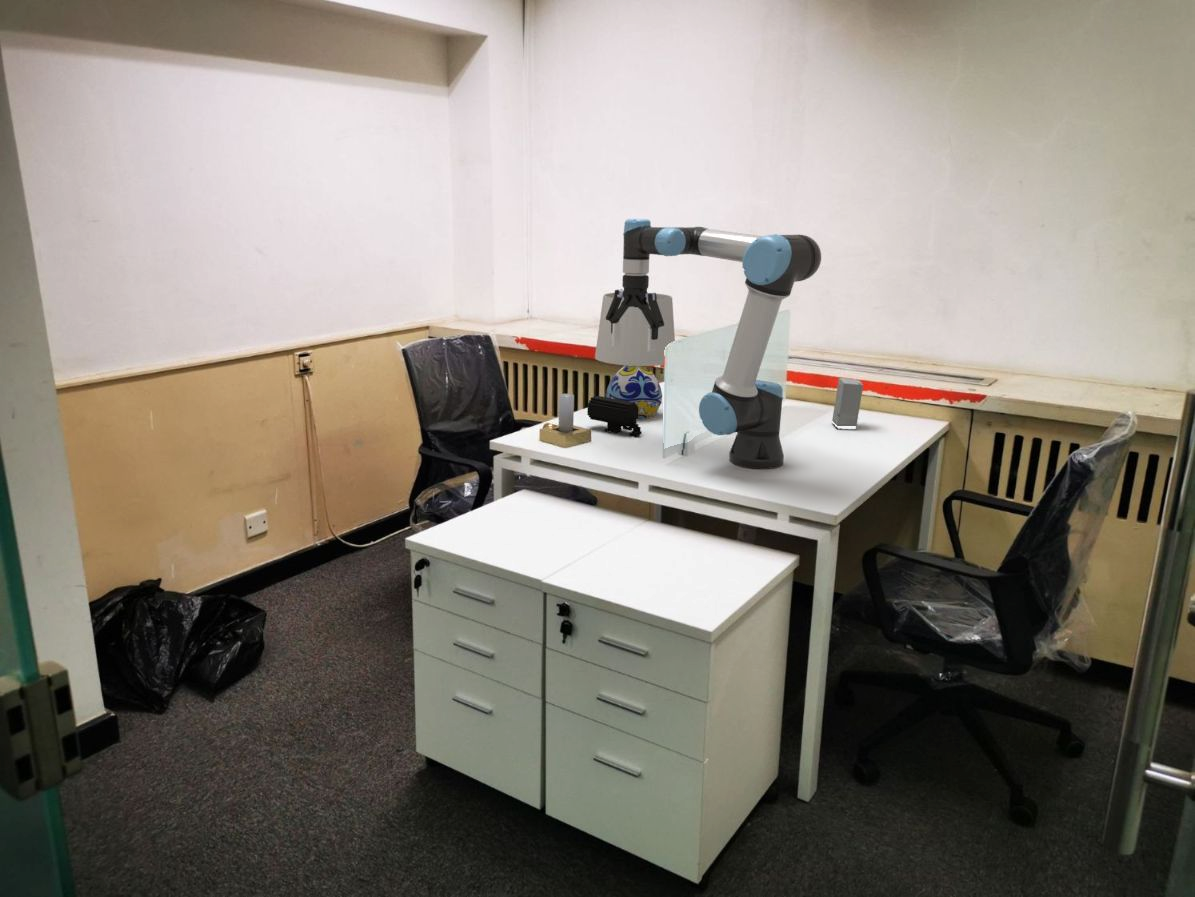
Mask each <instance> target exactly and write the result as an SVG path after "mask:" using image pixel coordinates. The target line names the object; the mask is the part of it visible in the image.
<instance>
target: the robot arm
mask: <svg viewBox="0 0 1195 897" xmlns="http://www.w3.org/2000/svg"><path fill="white" fill-rule="evenodd" d="M623 226H624V228H623V234H622V236H623V252H622V253H623V254H622V255H623V256H622V258H623V259H622V273H624V274H623V275H622V283H621V284H622V288H623V289H622V288H621V289H614V292H613V293H614V298H613V301H612V303H611V306H610V308H609V311H608V313H607V315H606V320H609V321H610V322H611V334H612V345H613V346H615V345H620V325H621V323H617V322H620V321H619V320H620V318H621V317H622V316H623V314H624V313H625V312H626V310H627V309H628V307H636V308H639V309H640V310H641V311H642V313H643V314H644V316H645V318H646V320H647V321H648V323H649V325H650V328H648V351H655V350H656V339H658V328H659V327H662V326H664V321H663V318H662V315H661V312H660V309H659V306H658V303H657V298H656V292H648V289H649V283H650V282H649V280H650V276H649V275H648V274H649V273H650V255H657V256H664V257H677V256H679V255H681V256H682V255H695V256H700V257H708V258H716V259H721V260H727V261H732V262H739V263H742V268H743V274H744V276H745V277H746V278H745V281H744V285H745V286H746V287H747V289H748V292H747V295H746V298H745V302H744V306H743V307H742V312H741V315H740V319H739V321H738V325H737V328H736V332H735V334H734V339H733V340H732V344H731V345H732V346H731V348H730V351H729V354H728V357H727V361H726V364H725V368H724V371H723V374H722V375H720V376H718V377H717V378H716V379H715V381H714V383H713V386H712V391H711V392H708V393H706V394H705V395H703V396H702V398H701V400H700V401H699V406H698V413H699V418H700V420H701V423H702V425H704V426H703V427H705V429H707V431H708V432H710V433H711V434H713V435H717V436H723V435H724V436H725V435H727V436H729V435H732V434H735V433H736V435H735V438H734V441H733V443H732V445H731V448H730V450H729V454H728V455H729V460H728V461H729V462H731V463H732V464H734V465H737V466H740V467H744V468H749V469H759V470H760V469H761V470H762V469H763V470H764V469H765V470H766V469H774V468H779V467H781V466H783V465H784V460H785V456H784V452H783V447H782V446H783V445H782V443H781V439H780V430H781V429H780V428H781V421H782V420H781V418H782V409H783V408H782V405H783V400H784V397H783V390H784V389H783V387H782V385H781V384H779V383H776V382H773V381H769V380H768V381H767V380H762V379H757V377H758V375H759V372H760V369H761V367H762V366H761V365H762V362H763V359H764V356H765V353H766V349H767V347H768V344H769V341H770V337H771V335H772V332H773V330H774V326H775V322H776V319H777V317H778V313H779V310H780V307H781V304H782V301H783V300H785V299H786V298H788V297H790V296H791V294H792V290H793V287H794V284H795V283H796V282H797V283H798V282H802V281H807V279H810V278H811V277H813V276H814V275H815V273H817V271H818V270H819V268H820V265H821V263H822V252H821V247H820V246H819V245H818V243H817V241H816V240H815V239H814V238H811V237H810V236H809V235H808V236H807V235H805V234H777V233H776V234H773V233H771V234H768V235H754V234H747V233H741V232H733V231H728V230H727V231H726V230H719V229H710V228H708V227H705V226H704V227H703V226H695V227H694V226H693V227H692V226H691V227H689V226H688V227H681V226H680V227H679V226H678V227H677V226H676V227H673V226H672V227H671V226H669V227H668V226H667V227H666V226H665V227H663V226H662V227H661V226H659V227H657V226H655V227H654V226H652V225H651V220H650V219H646V218H628V219H626V220H624V225H623ZM648 293H649V294H648ZM622 297H624V300H623V301H622V303H621V300H622ZM646 299H647V300H648V303H649V304H648V303H647V301H646ZM620 303H621V306H620V307H619V305H620ZM643 304H644V305H643ZM649 306H650V308H649ZM618 307H619V308H618ZM650 309H651V310H650Z"/></svg>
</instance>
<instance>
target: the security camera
mask: <svg viewBox="0 0 1195 897" xmlns="http://www.w3.org/2000/svg"><path fill="white" fill-rule="evenodd" d="M638 409H639V407H637V405H636V403H634V402H629V401H624V400H618V399H613V398H607V397H606V396H600V395H596V396H592V397H590V400H588V403H587V416H588V418H590V420H594V421H598V422H601V423H602V422H603V423H606V424H607V425H606V426H607V427H606V428H605V429H604V431H605V432H607V433H608V432H609V433H613V434H620V433H622V430H625V431H630V432H629V434H628V436H629V437H633V438H637V437H640V435H642V434H643V433H642V431H641V426H639V424H638V423H637V419H638Z"/></svg>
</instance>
